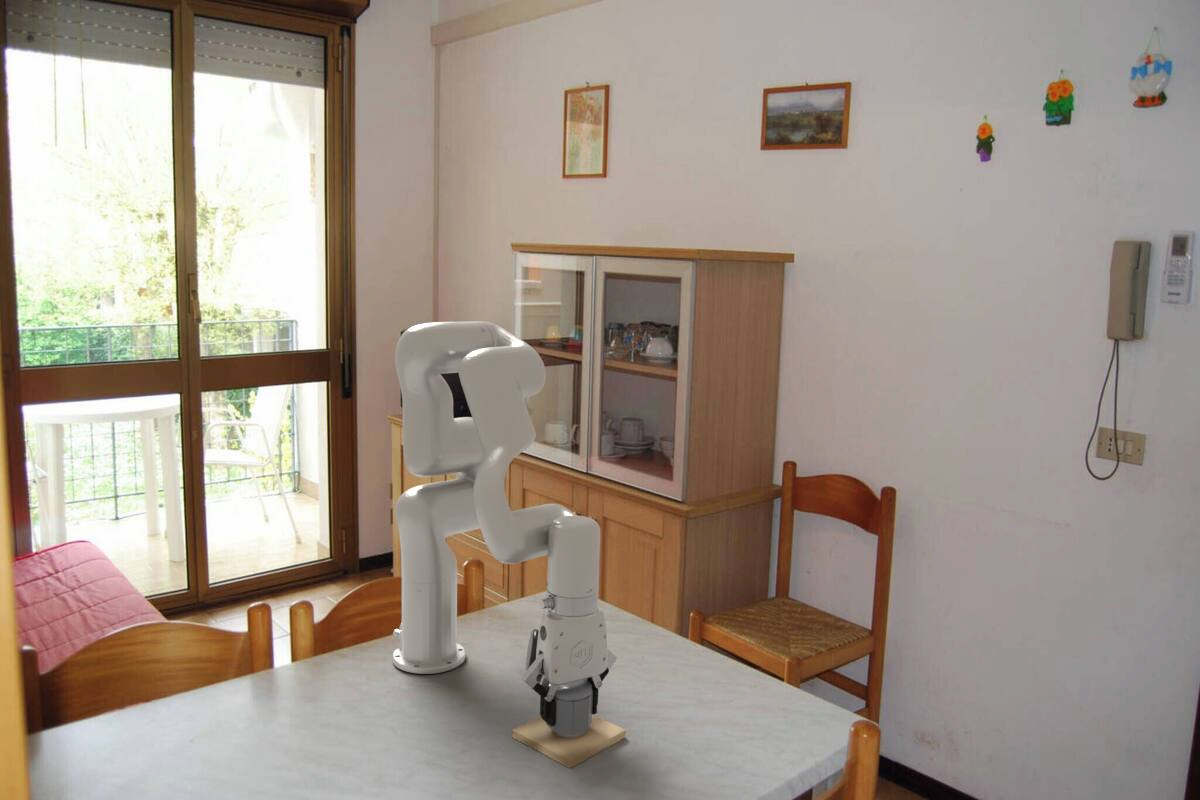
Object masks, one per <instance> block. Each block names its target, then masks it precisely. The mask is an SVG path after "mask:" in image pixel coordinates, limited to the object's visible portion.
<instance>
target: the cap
mask: <svg viewBox="0 0 1200 800" xmlns="http://www.w3.org/2000/svg"><path fill="white" fill-rule="evenodd" d="M553 699H554V700H555V701H556V724H555V726H552V727H551V726H550V725H549V724H547V723H546V725H547V726H548V727H550V728H551V729H552V730H553V731H554V732H556V733H564V734H571V735H574V734H577V733H580V732H584V731H587V730H588V729H589V727H590V725H591V723H592V703H593V690H592V685H591V684H590V682H588V681H587V680H586V679H582V680H578V681H574V682H570V683H566V684H562V685H558V687H557V689H556V692H555V694H554V697H553Z"/></svg>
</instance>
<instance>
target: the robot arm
mask: <svg viewBox="0 0 1200 800" xmlns="http://www.w3.org/2000/svg"><path fill="white" fill-rule="evenodd" d="M394 354H395V355H394V358H395V361H394V362H395V364H394V365H395V369H396V374H397V379H398V383H399V386H400V392H401V398H402V399H401V400H402V443H403V444H402V445H403V447H402V450H403V460H404V465H405V467H406V469H407V471H408V472H409V474H411V475H413V476H414V477H418V478H431V477H438V476H446V475H449V474H450V475H451V474H455V478H454V479H450V480H449V479H448V480H440V481H435V482H429V483H425V484H424V483H423V484H419V485H416V486H413V487H410V488H408V489H407V490H405V491H403V492H402V494H401V495H400V496H399V497H398V499H397V501H396V503H395V507H394V508H395V513H394V514H395V519H396V520H395V521H396V525H397V530H398V536H399V543H400V555H401V558H400V559H401V623H400V624H399V628H396V629H394V630H393V631H392V635H393V637H394V638H398V639H399V647H397V648H396V649H395V650H394V651H393V653H392V663H393V665H394V666H395V667H397V668H398V669H399V670H401V671H404V672H407V673H410V674H411V673H412V674H418V675H430V674H432V675H433V674H440V673H444V672H448V671H451V670H453V669H456V668H457V667H459V666H461V665H462V664H463V663H464V662H465V659H466V650H465V648H464V647H463V646H462V645H461V644H460V643H457V641H458V640H457V637H458V636H457V634H458V633H457V631H458V630H457V629H458V623H457V622H458V563H457V562H458V561H457V558H456V555H455V554H454V551H453V550H452V549H451V547H450V545H448V543H447V541H446V539H447V538H448V537H451V536H454V535H457V534H462V533H466V532H470V531H475V530H478V529H480V532H481V535H482V538H483V540H484V543H485V545H486V548H487V549H488V551H489V553H490V554H491V555H492V556H493V558H494V559H496V560H497V561H498V562H500V563H503V564H506V565H510V564H511V565H514V564H518V563H522V562H525V561H526V562H527V561H530V560H534V559H537V558H540V557H547V576H546V577H547V578H546V580H547V581H546V585H547V586H546V591H545V597H544V598H543V599H540V600H539V608H540V609H542V610H543V611H542V613H541V619H540V622H539V629H538V630H539V632H538V640H537V650H536V660H535V661H534V662H533V663H532V665H531V666H530V667H529V668H528V670H527V671H525V672H524V673H523V675H522V676H521V680H522V681H523V682H524V683H525V684H526V685H527V686H528V687H529V688H531V690H533V691H534V692H535V693H536V694H537V695H539V696H540V697H539V699H540V701H539V705H540V706H539V715H540V716H541V718H542V719H543V720H544V721H545V722H546V723H547V724H549V725H550V726H551V727H552V726H555V724H556V701H555V700H554V699H553V697H554V694H555V692H556V689H557V687H558V685H562V684H566V683H570V682H574V681H578V680H582V679H585V680H587V681H588V682H590V684H591V685H592V690H593V703H592V714H593V715H596V714H597V713H598V705H599V689H600V688H602V686H603V681H604V679H605V678H606V677H607V676H608V674H609V671H610V669H611V668H612V667H613V665H614V664H615V663H616V661H617V659H618V658H617V656H616V655H615V654H614V653H613V652H612V651H610V650H609V648H608V637H607V636H608V635H607V627H606V626H607V625H606V620H605V618H606V617H605V614H604V613H605V612H604V610H603V607H602V606H600V605H599V592H600V591H599V584H600V583H599V582H600V559H601V557H600V556H601V555H600V554H601V527H600V525H599V523H598V522H597V521H596V520H595V519H593V518H591V517H588V516H583V515H577V514H576V513H574V512H573V511H571V510H570V509H569V508H567V507H565V506H563V505H562V504H559V503H553V502H552V503H545V504H541V505H534V506H530V507H525V508H521V509H517V510H516V509H515V510H511V507H510V505H509V502H508V498H507V494H506V489H505V480H506V479H505V478H506V474H507V471H508V468H509V465H510V464H511V462H512V461H513V460H514V458H515V457H517V456H518V455H520V454H521V453H523V452H524V451H525V450H527V449H529V448H530V447H531V446H532V445H533V444H534V442H535V440H536V436H537V435H536V434H537V433H536V430H535V428H534V427H535V426H534V424H533V422H532V419H531V416H530V414H529V410H528V408H527V405H526V402H525V400H524V399H525V398H530V397H533V396H536V395H538V394H539V393H540V392H541V391H542V390H543V389H544V387H545V384H546V379H547V376H546V375H547V372H546V366H545V363H544V361H543V360H542V357H541V356H540V355H539V353H538V351H536V349H534V347H532V346H531V345H530V344H529V343H527V342H525V341H524V340H522V339H521V338H520V337H518V336H516V335H514V334H513V333H511V332H509V331H508V330H506V329H505V328H503V327H502V326H500V325H498V324H496V323H493V322H491V321H483V320H478V321H477V320H476V321H475V320H474V321H473V320H472V321H469V320H468V321H438V322H437V321H435V322H425V323H420V324H416V325H413V326H411V327H409V328H407V329H406V330H405V331H404V332H403V333H402V334H401V335H400V337H399V338H398V341H397V344H396V347H395V353H394ZM457 373H458V377H459V381H460V384H461V387H462V390H463V393H464V397H465V400H466V402H467V406H468V409H469V412H470V414H471V416H462V417H461V416H460V417H454V397H453V392H452V390H451V388H450V386H449V384H448V383H447V381H446V380H445V378H444V377H443V375H442V374H457ZM539 675H540V676H541V679H540V681H537V677H538V676H539ZM540 716H539V717H540Z"/></svg>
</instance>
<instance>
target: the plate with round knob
mask: <svg viewBox="0 0 1200 800" xmlns="http://www.w3.org/2000/svg"><path fill="white" fill-rule="evenodd" d="M626 732H627V731H626V729H625V728H622V727H620V726H618V725H616V724H614V723H611V722H610V721H607V720H605V719H603V718H601V717H599V716H596V714H594V715H593V714H592V723H591V725H590V727H589V729H588V730H587V731H584V732H580V733H577V734H574V735H571V734H564V733H556V732H554V731H553V730H552V729H551V728H550V727H548V726H547V725H546V722H545V721H544V720H543V719H542V718H541V716H538V717H536V718H534V719H532V720H529V721H527V722H525V723H523V724H521V725H519V726H516V727H515V728H513V729H511V738H512V737H513V738H512V739H514V740H516V739H517V740H516V741H518V740H519V741H518V742H520V741H521V742H522V744H523V743H525V744H526V745H525V744H524V745H525V746H527V745H528V746H527V747H529V746H530V747H529V748H531V747H532V748H531V749H533V748H534V749H533V750H535V751H536V750H537V751H536V752H538V751H539V752H538V753H540V752H541V754H542V753H543V754H542V755H544V756H546V755H547V756H546V757H548V758H549V759H552V760H554V761H556V762H557V763H560V765H561V764H562V765H563V766H565V767H567V768H568V769H572V768H574V767H575V766H577V765H578V764H579V765H580V764H581V763H582V762H584V761H587V760H588V759H590V758H592V757H593V756H595V755H597V754H599V753H601V752H603V751H604V750H605V749H607V748H609V747H611V746H612V745H615V744H616V743H619V742H620V741H622V740H624V739H625V738H626V734H627V733H626ZM623 738H624V739H623ZM621 739H622V740H621ZM521 742H520V743H521ZM589 757H590V758H589ZM587 758H588V759H587Z"/></svg>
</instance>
